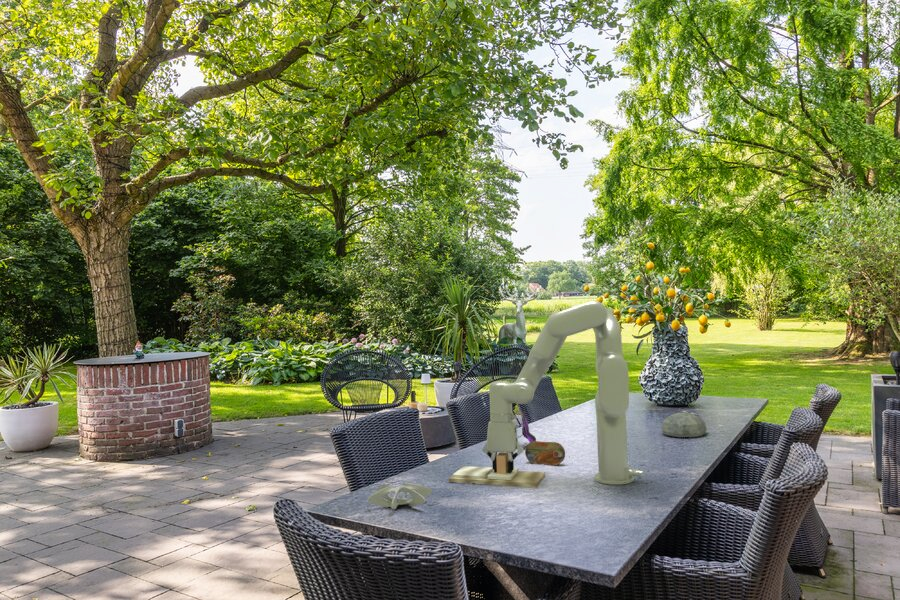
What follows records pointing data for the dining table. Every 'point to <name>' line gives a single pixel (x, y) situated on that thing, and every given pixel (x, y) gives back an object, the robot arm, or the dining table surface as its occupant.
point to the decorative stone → (684, 425)
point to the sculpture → (393, 503)
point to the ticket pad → (480, 477)
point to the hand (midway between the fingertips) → (503, 471)
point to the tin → (545, 453)
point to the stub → (502, 468)
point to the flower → (527, 430)
